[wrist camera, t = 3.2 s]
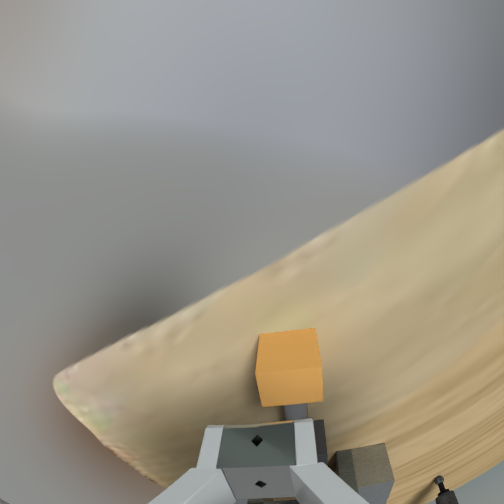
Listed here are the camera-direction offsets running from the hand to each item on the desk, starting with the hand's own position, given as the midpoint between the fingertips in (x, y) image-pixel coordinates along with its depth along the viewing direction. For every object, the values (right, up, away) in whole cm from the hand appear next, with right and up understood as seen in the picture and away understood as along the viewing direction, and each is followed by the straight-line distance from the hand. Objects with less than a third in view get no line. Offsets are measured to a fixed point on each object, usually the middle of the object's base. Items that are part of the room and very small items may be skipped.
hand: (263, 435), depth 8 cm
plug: (+3, -7, +16) cm, 18 cm away
